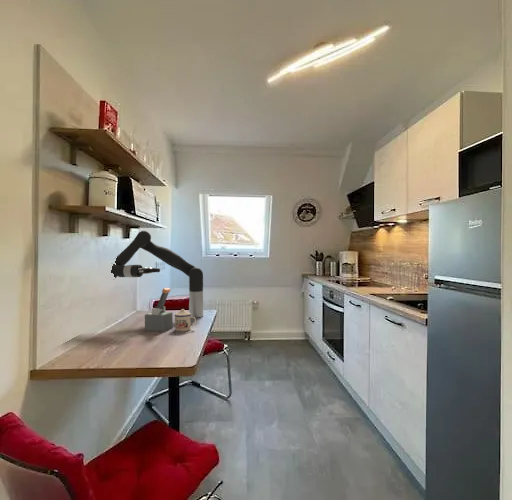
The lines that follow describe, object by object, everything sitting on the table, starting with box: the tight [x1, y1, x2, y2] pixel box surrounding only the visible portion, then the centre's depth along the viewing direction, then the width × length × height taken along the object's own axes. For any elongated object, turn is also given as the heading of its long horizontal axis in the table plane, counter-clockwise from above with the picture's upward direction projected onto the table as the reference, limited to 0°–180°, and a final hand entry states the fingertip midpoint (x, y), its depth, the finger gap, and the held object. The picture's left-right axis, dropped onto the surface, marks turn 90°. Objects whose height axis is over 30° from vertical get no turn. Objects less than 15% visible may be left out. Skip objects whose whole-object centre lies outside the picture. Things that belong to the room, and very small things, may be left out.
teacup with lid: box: [174, 308, 197, 332], centre depth 203 cm, size 12×9×12 cm
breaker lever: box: [156, 287, 171, 312], centre depth 204 cm, size 2×5×15 cm, turn 166°
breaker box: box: [144, 306, 174, 333], centre depth 205 cm, size 12×10×13 cm
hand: (159, 270), depth 211 cm, fingers closed
